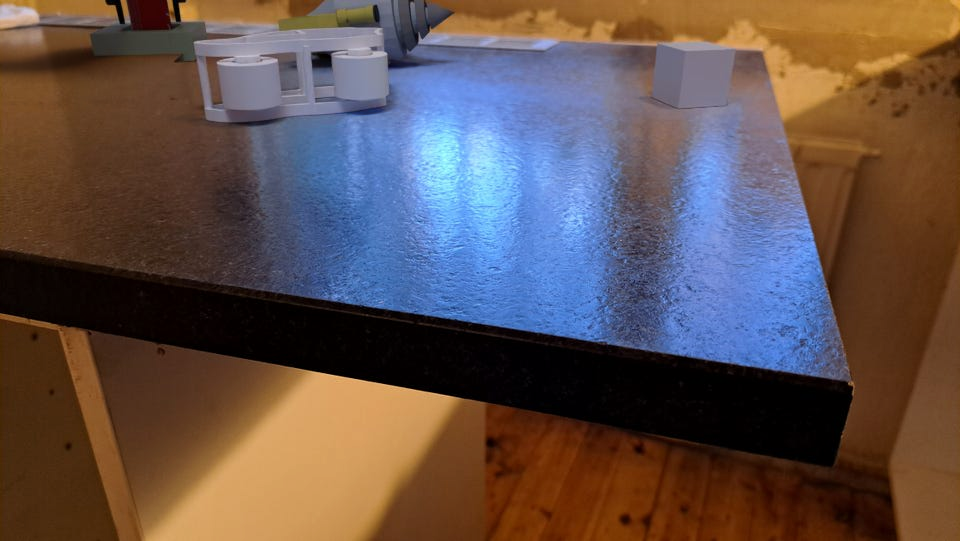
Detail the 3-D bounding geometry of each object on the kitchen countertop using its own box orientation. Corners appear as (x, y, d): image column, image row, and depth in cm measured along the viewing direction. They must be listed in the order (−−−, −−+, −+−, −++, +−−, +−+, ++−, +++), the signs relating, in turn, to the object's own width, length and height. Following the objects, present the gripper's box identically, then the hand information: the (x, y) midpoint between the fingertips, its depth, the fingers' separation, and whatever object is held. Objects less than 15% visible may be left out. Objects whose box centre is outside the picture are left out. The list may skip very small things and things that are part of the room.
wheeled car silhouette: (212, 131, 66) (198, 50, 63) (199, 107, 75) (187, 34, 72) (412, 111, 74) (410, 38, 71) (379, 91, 83) (376, 25, 80)
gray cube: (651, 97, 81) (657, 43, 78) (697, 94, 82) (704, 41, 80) (678, 108, 76) (685, 50, 73) (727, 105, 77) (736, 48, 75)
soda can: (180, 56, 105) (165, -32, 100) (140, 59, 102) (123, -31, 97) (173, 51, 109) (158, -33, 104) (134, 53, 107) (117, -33, 101)
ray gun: (308, 10, 109) (259, -19, 90) (459, -11, 107) (443, -46, 87) (319, 84, 111) (273, 71, 92) (468, 64, 109) (454, 47, 89)
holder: (96, 63, 99) (89, 33, 97) (120, 49, 110) (115, 22, 109) (195, 61, 101) (190, 32, 99) (208, 47, 113) (204, 21, 111)
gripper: (35, -89, 81) (78, 39, 102) (217, -87, 89) (223, 32, 109) (28, -138, 83) (72, -3, 104) (206, -132, 91) (214, -7, 111)
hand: (149, 15), depth 106 cm, fingers open, 7 cm apart
